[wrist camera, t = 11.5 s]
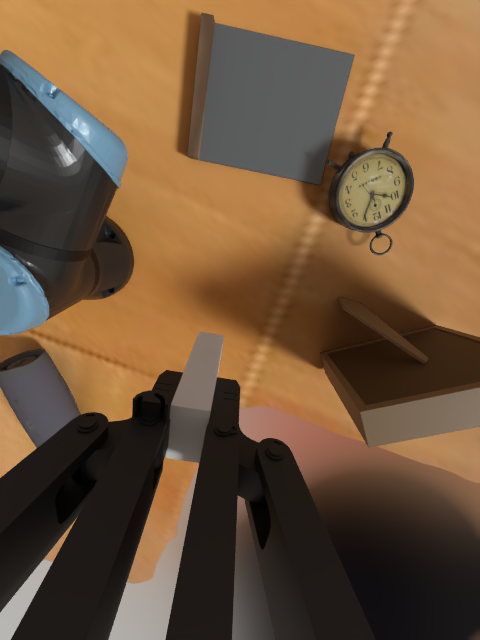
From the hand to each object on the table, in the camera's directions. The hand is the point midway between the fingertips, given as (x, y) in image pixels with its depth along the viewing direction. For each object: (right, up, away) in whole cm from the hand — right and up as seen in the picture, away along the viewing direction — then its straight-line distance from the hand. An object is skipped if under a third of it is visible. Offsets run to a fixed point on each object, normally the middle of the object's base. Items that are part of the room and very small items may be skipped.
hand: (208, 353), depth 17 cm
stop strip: (-4, +34, +23) cm, 42 cm away
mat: (+6, +32, +24) cm, 41 cm away
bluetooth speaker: (-37, -14, +44) cm, 59 cm away
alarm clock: (+18, +27, +23) cm, 40 cm away
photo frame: (+27, +1, +36) cm, 45 cm away
